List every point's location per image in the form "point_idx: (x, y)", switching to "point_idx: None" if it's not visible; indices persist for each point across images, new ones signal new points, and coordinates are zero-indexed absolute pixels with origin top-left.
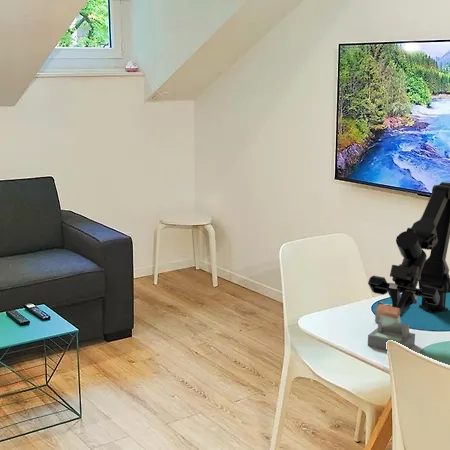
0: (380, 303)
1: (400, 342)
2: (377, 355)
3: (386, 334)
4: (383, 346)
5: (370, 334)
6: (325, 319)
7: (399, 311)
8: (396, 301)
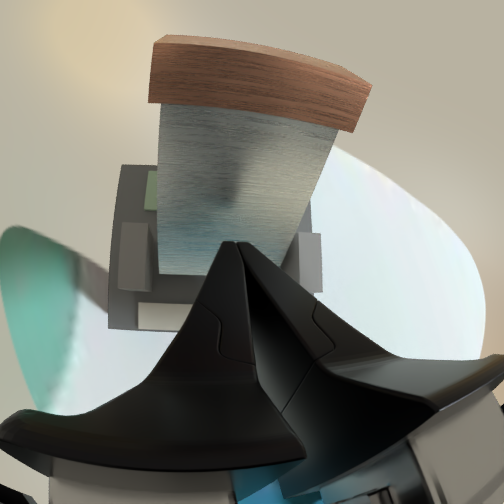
0: None
1: (141, 167)
2: None
3: None
4: None
5: None
6: (461, 337)
7: (153, 68)
8: (291, 327)
